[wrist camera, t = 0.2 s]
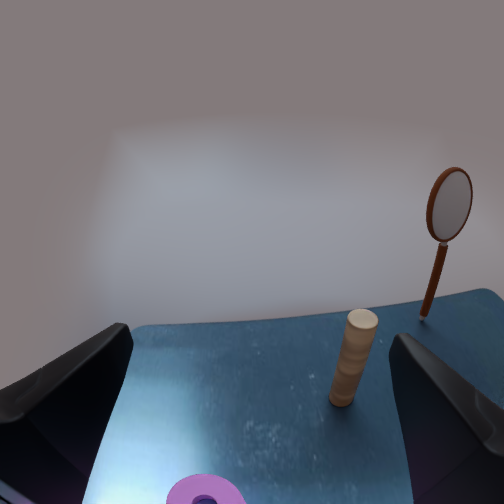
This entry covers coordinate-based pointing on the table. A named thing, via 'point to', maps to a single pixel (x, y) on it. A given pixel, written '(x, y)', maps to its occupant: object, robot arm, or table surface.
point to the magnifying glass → (446, 220)
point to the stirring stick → (353, 355)
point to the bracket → (204, 490)
